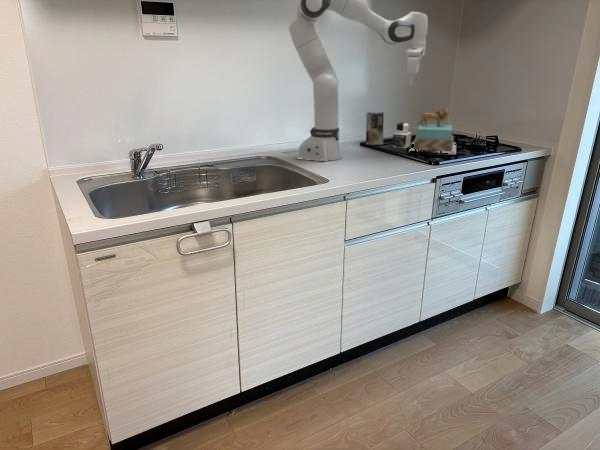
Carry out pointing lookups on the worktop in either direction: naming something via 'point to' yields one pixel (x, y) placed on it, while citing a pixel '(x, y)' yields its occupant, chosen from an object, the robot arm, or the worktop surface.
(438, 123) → the lion figurine
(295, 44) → the robot arm
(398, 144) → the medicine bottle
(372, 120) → the coffee box
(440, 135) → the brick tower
